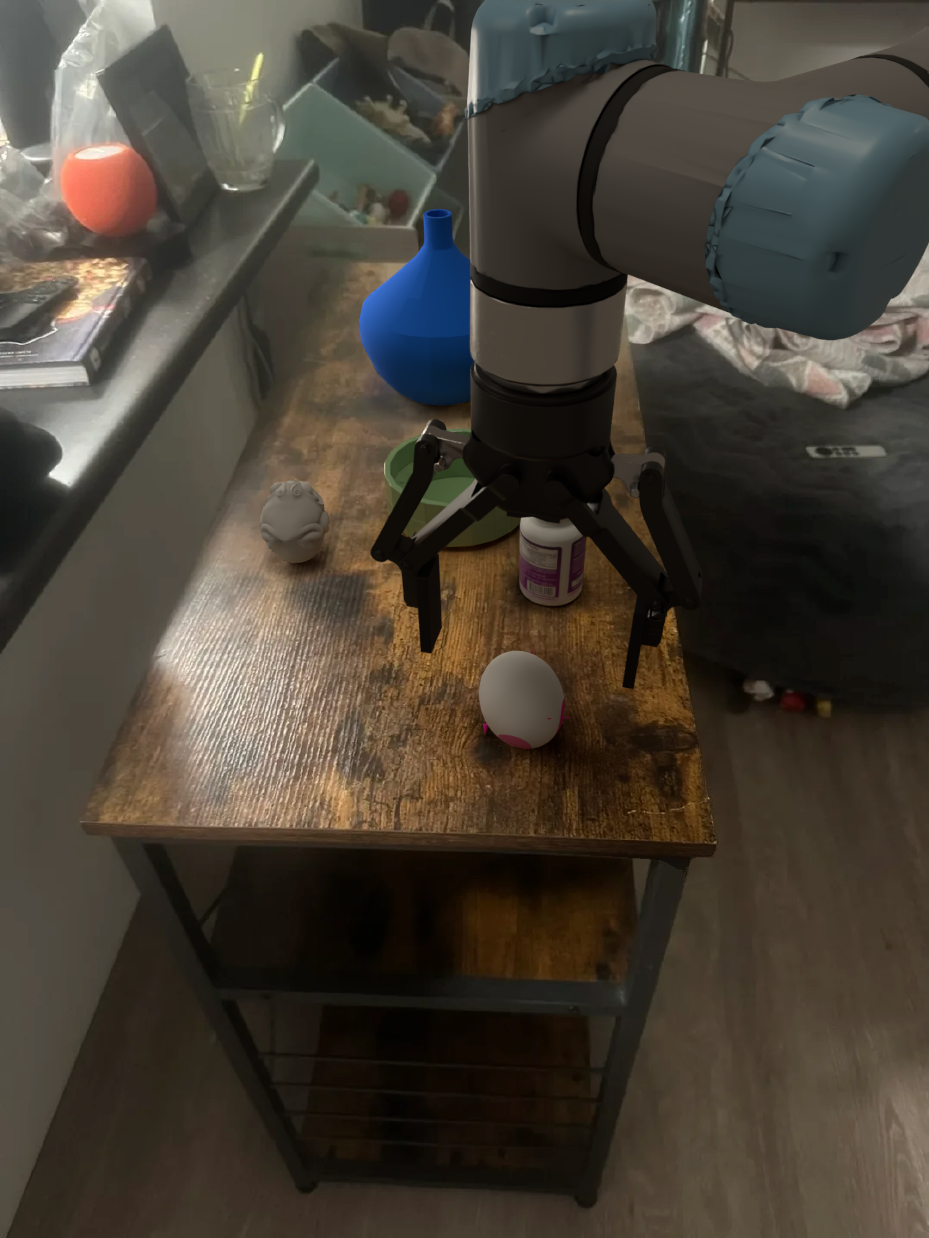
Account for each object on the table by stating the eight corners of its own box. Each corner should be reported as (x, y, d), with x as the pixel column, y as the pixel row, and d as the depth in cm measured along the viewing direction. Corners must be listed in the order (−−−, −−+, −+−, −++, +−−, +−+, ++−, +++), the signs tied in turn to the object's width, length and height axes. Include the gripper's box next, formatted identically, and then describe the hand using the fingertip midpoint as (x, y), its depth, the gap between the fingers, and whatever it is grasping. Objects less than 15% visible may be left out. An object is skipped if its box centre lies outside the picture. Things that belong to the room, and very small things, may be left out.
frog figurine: (339, 532, 81) (329, 467, 77) (328, 579, 76) (317, 513, 72) (274, 532, 82) (260, 467, 77) (258, 579, 76) (243, 513, 72)
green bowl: (539, 481, 87) (541, 436, 84) (510, 561, 78) (511, 514, 74) (411, 465, 90) (408, 421, 86) (369, 541, 80) (364, 495, 77)
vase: (483, 341, 111) (482, 178, 99) (550, 404, 99) (559, 226, 86) (345, 369, 106) (325, 201, 94) (397, 440, 94) (382, 257, 81)
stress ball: (554, 790, 63) (613, 736, 59) (461, 762, 59) (519, 703, 56) (534, 710, 68) (588, 656, 65) (449, 679, 65) (500, 621, 61)
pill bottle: (561, 561, 77) (568, 467, 71) (593, 596, 74) (603, 500, 67) (507, 579, 76) (508, 484, 69) (537, 616, 72) (541, 519, 66)
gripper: (797, 353, 45) (721, 649, 59) (339, 308, 50) (371, 592, 64) (800, 425, 40) (715, 732, 54) (287, 367, 44) (334, 663, 59)
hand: (528, 656), depth 59 cm, fingers open, 13 cm apart
